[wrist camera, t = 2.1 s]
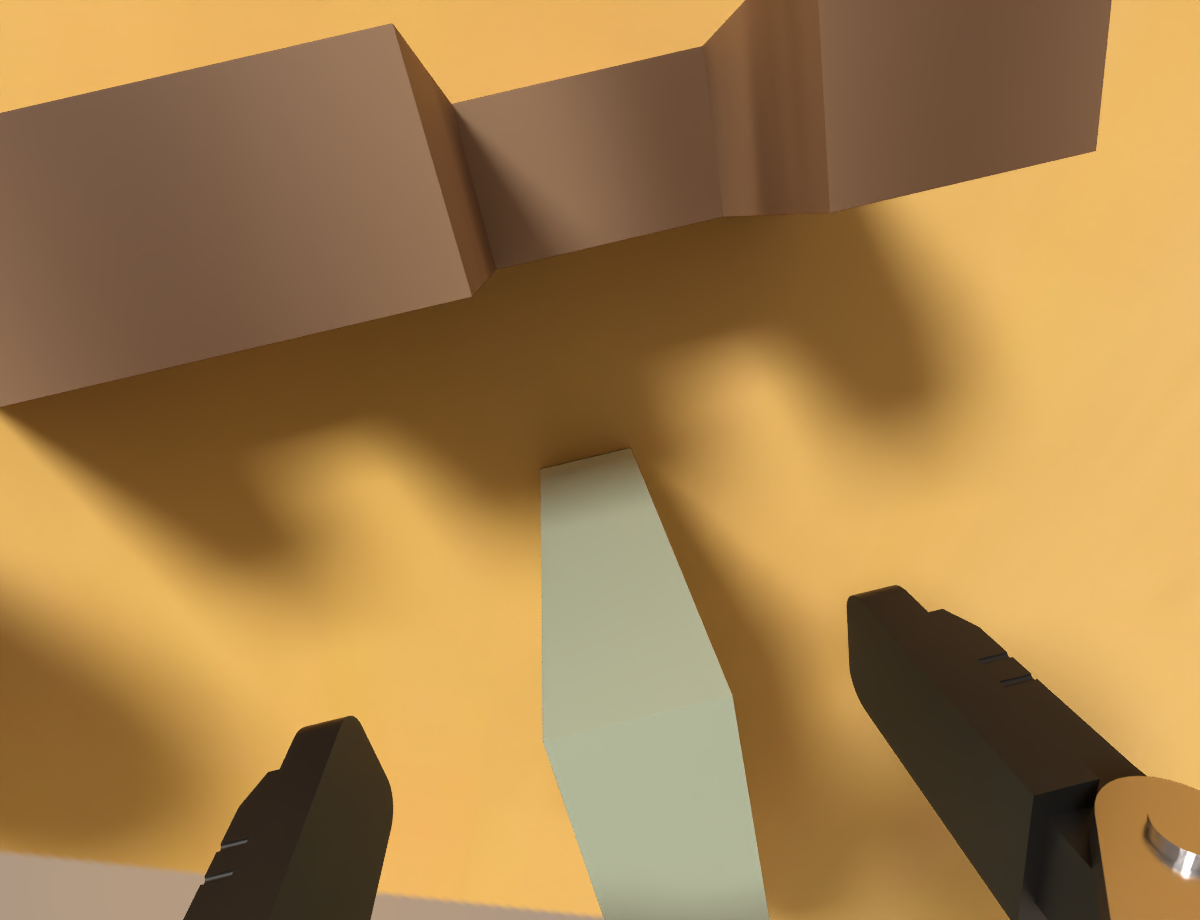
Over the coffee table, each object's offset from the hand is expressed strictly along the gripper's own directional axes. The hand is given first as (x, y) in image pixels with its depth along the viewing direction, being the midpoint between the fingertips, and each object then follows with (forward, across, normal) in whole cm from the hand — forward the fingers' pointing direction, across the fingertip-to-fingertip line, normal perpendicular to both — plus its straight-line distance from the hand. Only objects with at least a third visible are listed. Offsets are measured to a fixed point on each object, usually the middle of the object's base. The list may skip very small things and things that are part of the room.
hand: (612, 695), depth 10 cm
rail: (+7, +3, -8) cm, 11 cm away
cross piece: (+7, -1, +6) cm, 9 cm away
